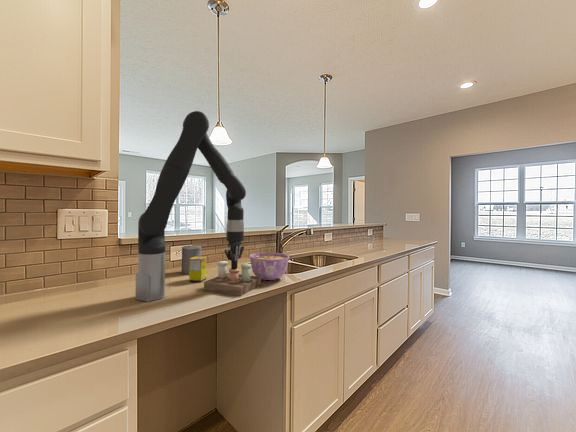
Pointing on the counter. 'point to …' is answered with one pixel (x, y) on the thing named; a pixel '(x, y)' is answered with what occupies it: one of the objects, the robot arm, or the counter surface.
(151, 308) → the counter surface
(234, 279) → the terracotta shaker
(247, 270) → the pale green shaker
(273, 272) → the bowl of food
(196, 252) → the pillar candle
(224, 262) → the white shaker
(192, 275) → the supplement box
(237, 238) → the robot arm
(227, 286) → the walnut board
